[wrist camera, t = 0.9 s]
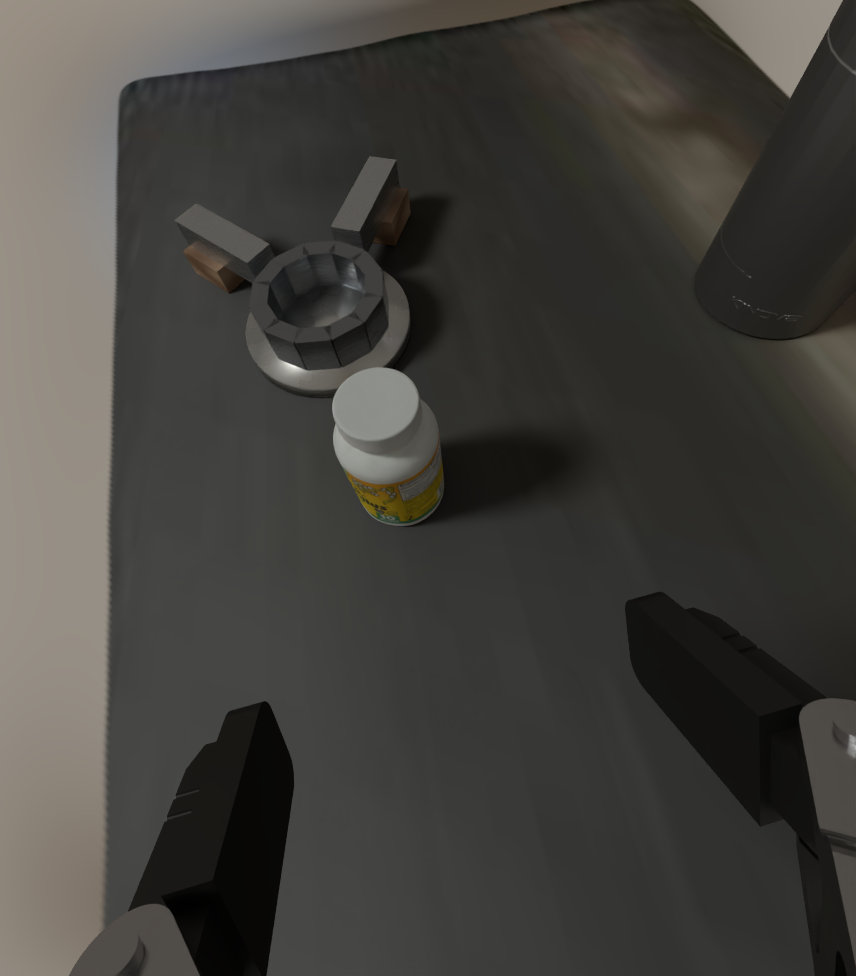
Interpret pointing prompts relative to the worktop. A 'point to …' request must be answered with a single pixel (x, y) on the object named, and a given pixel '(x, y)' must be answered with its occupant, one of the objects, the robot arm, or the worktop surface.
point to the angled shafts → (253, 254)
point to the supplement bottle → (388, 446)
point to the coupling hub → (325, 318)
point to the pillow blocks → (231, 280)
